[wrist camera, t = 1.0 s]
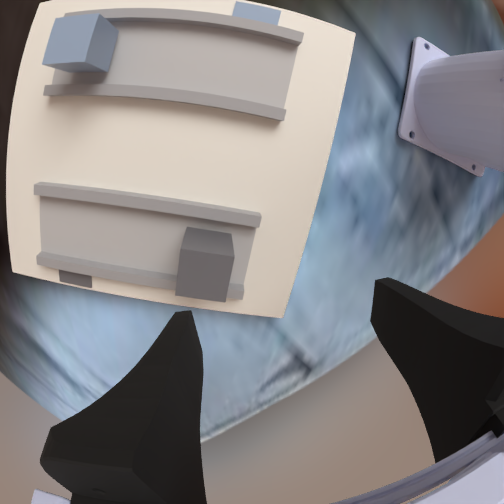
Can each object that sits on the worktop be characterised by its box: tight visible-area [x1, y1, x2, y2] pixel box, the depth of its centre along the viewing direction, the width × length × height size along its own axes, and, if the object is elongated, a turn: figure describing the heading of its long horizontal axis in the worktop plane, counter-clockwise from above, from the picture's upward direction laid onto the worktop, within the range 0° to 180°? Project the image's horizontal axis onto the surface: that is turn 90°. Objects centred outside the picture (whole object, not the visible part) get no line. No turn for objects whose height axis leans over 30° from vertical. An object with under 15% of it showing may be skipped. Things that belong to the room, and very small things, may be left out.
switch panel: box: [6, 0, 356, 318], centre depth 15 cm, size 19×18×3 cm
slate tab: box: [42, 13, 119, 73], centre depth 10 cm, size 2×2×3 cm
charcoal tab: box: [175, 227, 235, 302], centre depth 15 cm, size 2×2×3 cm
